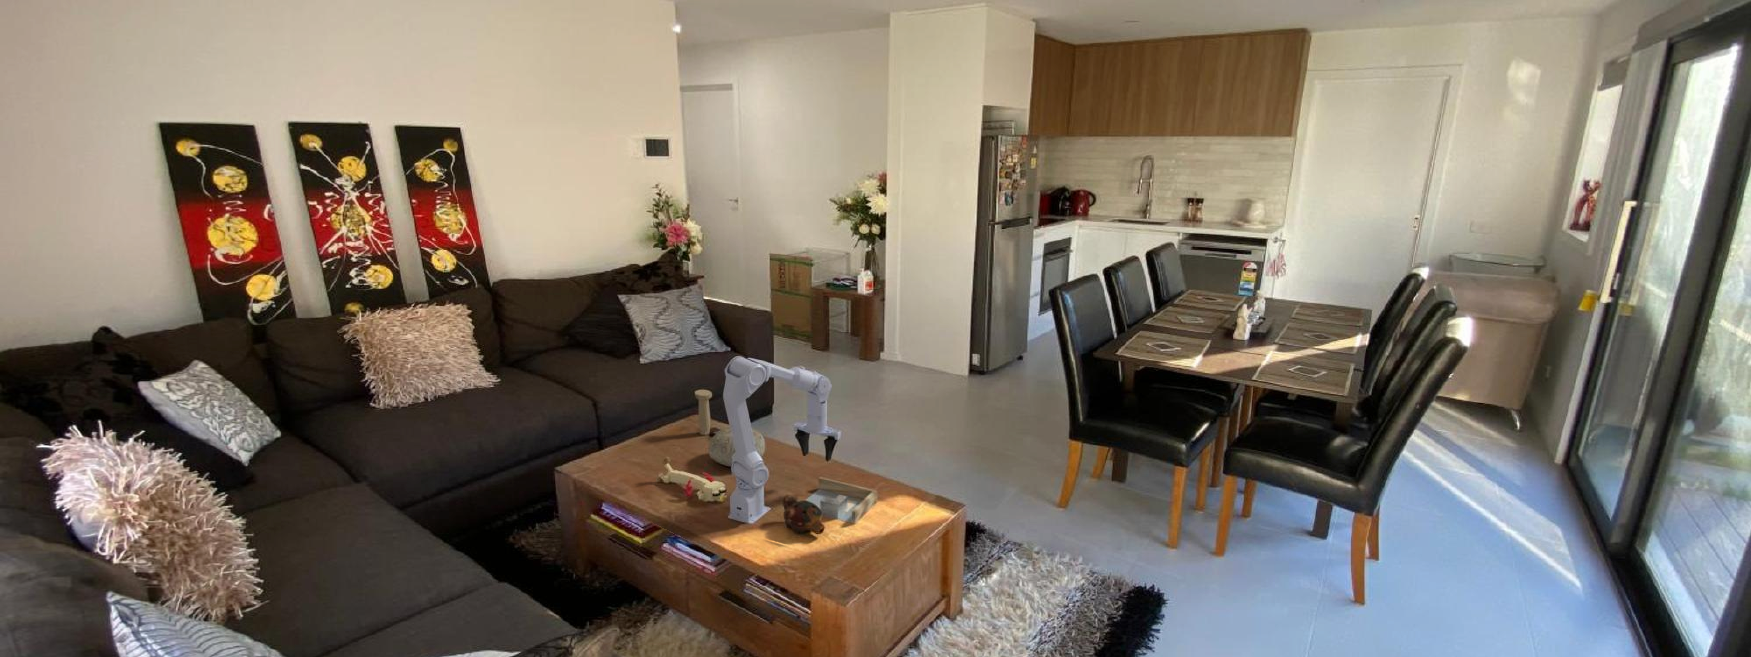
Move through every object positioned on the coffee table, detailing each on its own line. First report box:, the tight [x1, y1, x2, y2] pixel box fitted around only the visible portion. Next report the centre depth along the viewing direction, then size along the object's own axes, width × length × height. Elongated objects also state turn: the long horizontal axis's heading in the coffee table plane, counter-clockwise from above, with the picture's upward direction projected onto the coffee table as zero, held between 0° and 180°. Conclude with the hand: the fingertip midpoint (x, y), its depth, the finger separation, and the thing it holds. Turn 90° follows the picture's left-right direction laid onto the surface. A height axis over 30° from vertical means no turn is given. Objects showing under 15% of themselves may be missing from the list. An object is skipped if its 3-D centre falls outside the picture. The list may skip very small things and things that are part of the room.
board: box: [804, 488, 863, 524], centre depth 212 cm, size 13×18×1 cm
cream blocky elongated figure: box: [657, 456, 728, 503], centre depth 219 cm, size 10×9×25 cm
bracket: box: [820, 495, 848, 518], centre depth 208 cm, size 6×6×4 cm
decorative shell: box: [707, 427, 766, 468], centre depth 239 cm, size 18×18×10 cm
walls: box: [818, 476, 878, 525], centre depth 212 cm, size 14×18×4 cm
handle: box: [694, 389, 713, 436], centre depth 258 cm, size 5×6×15 cm
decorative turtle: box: [782, 494, 826, 536], centre depth 200 cm, size 10×15×8 cm, turn 51°
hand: (816, 457), depth 221 cm, fingers open, 7 cm apart
